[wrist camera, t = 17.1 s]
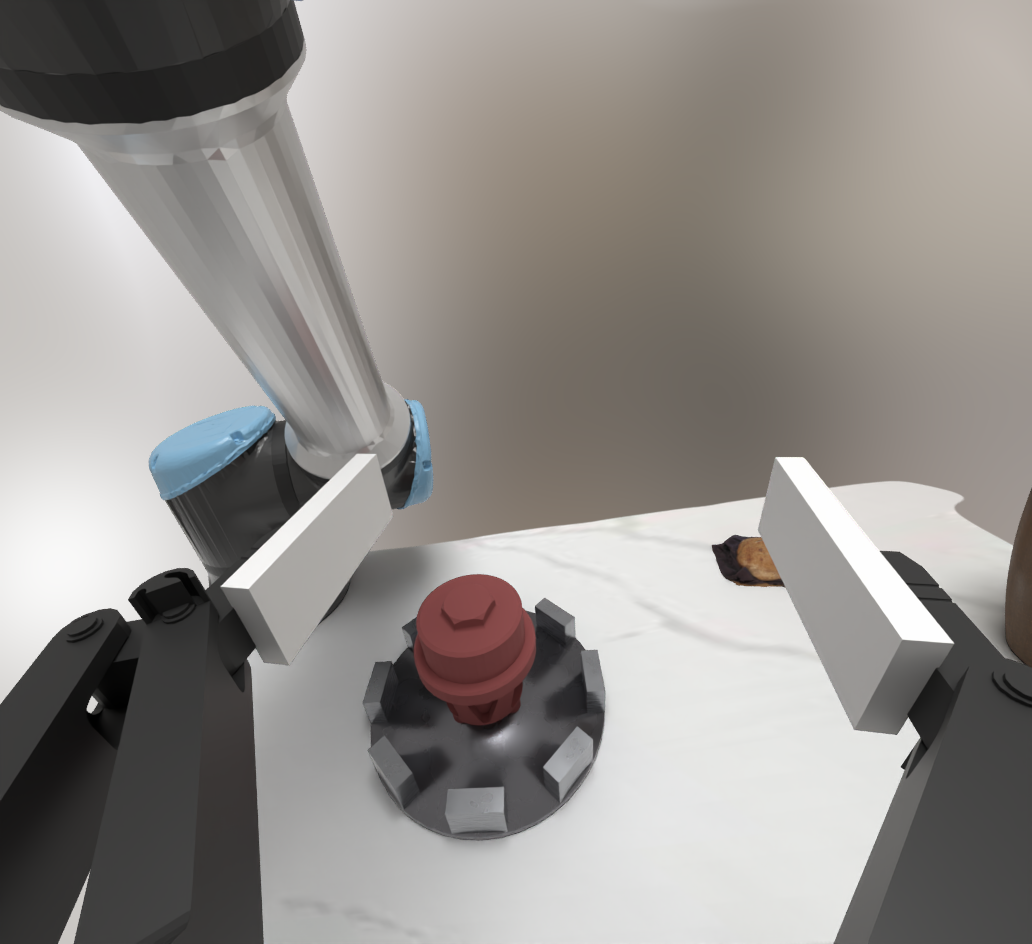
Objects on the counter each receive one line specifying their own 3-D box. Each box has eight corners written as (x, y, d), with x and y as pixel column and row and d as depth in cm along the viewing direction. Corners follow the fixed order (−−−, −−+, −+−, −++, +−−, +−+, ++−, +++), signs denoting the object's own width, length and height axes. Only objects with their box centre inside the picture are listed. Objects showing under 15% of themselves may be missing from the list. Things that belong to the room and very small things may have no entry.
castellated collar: (402, 617, 50) (395, 594, 48) (586, 606, 49) (586, 582, 47) (336, 845, 32) (321, 822, 30) (628, 834, 31) (631, 810, 29)
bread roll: (791, 543, 56) (798, 520, 54) (827, 591, 49) (836, 566, 47) (705, 544, 57) (709, 522, 55) (728, 592, 50) (733, 567, 48)
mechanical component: (563, 703, 39) (468, 783, 34) (499, 633, 46) (412, 691, 41) (559, 605, 33) (441, 685, 28) (485, 542, 40) (381, 597, 35)
